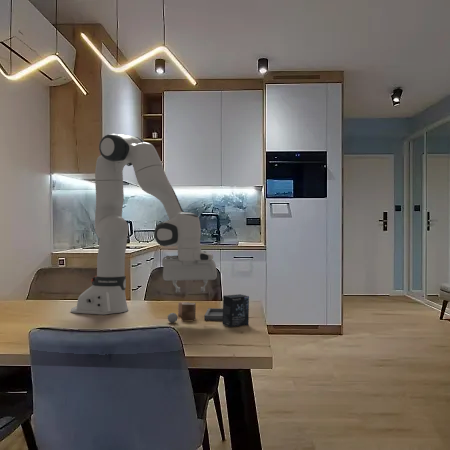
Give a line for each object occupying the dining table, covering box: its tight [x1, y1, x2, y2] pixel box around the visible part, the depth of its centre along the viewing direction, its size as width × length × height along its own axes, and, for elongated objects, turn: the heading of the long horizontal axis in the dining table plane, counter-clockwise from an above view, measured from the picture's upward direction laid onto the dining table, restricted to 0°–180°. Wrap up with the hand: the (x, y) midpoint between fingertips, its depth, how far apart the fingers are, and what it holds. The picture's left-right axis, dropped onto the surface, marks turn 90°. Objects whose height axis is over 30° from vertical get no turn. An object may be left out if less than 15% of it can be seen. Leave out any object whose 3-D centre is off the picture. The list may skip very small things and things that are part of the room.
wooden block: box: [177, 301, 190, 317], centre depth 203 cm, size 4×4×5 cm
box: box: [222, 294, 250, 328], centre depth 186 cm, size 8×6×11 cm
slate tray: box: [203, 307, 223, 322], centre depth 201 cm, size 14×16×2 cm
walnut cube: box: [181, 302, 196, 322], centre depth 195 cm, size 4×4×6 cm
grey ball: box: [167, 312, 179, 324], centre depth 188 cm, size 4×4×4 cm
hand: (190, 292), depth 195 cm, fingers open, 8 cm apart
